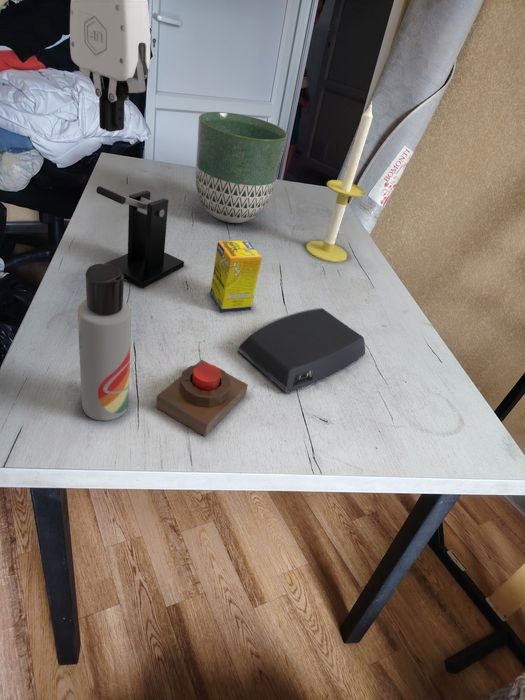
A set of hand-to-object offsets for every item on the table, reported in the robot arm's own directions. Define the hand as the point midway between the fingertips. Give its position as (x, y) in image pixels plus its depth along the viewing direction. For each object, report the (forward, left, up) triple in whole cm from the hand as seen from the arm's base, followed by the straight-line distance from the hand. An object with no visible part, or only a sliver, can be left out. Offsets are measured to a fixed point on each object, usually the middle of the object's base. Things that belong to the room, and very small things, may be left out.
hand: (112, 128), depth 69 cm
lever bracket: (+9, 0, -26) cm, 27 cm away
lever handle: (+4, 0, -13) cm, 14 cm away
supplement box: (+11, -18, -26) cm, 34 cm away
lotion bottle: (-22, -20, -26) cm, 40 cm away
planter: (+43, +3, -26) cm, 50 cm away
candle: (+47, -22, -26) cm, 58 cm away
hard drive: (+7, -35, -26) cm, 44 cm away
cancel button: (-13, -29, -22) cm, 39 cm away
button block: (-13, -29, -26) cm, 41 cm away
